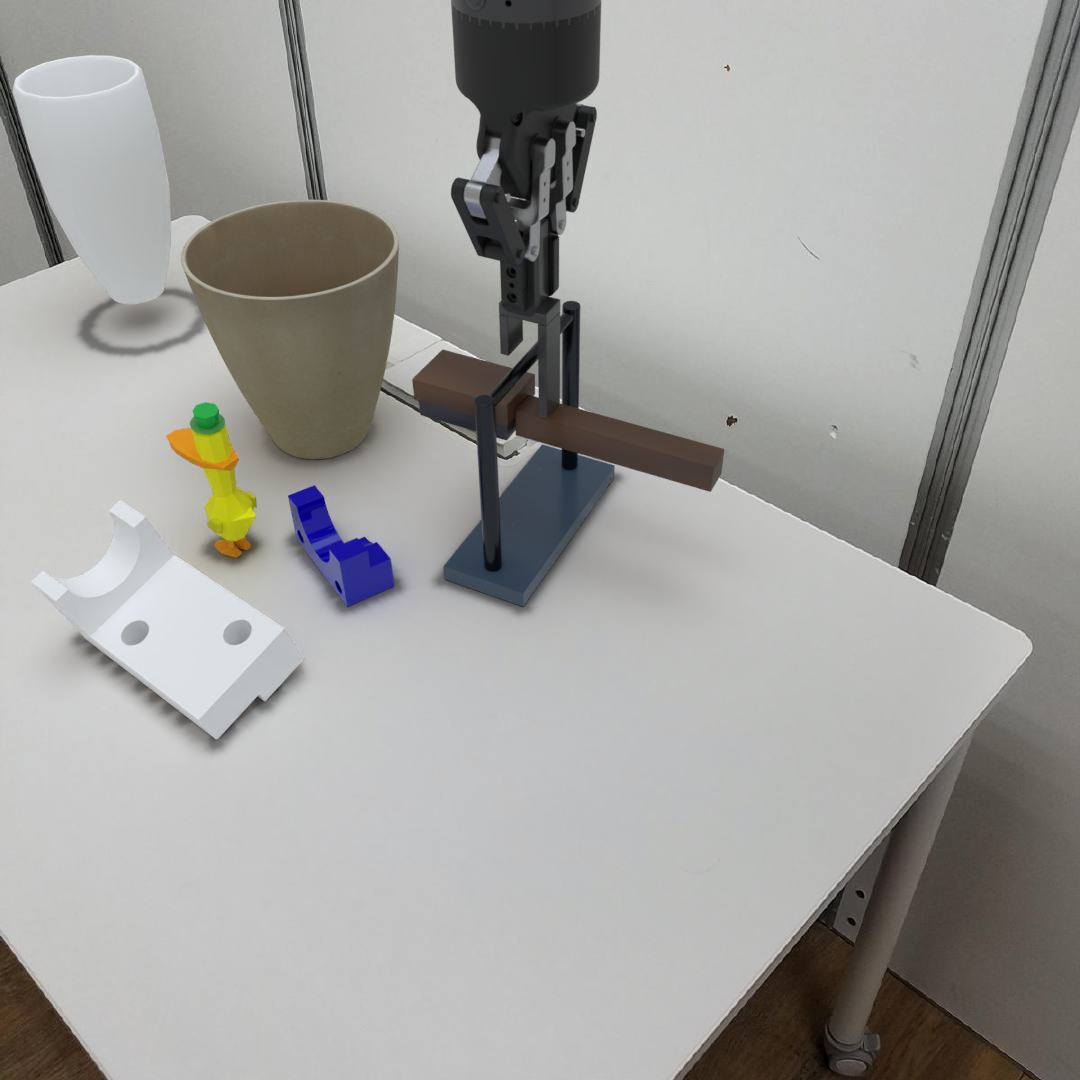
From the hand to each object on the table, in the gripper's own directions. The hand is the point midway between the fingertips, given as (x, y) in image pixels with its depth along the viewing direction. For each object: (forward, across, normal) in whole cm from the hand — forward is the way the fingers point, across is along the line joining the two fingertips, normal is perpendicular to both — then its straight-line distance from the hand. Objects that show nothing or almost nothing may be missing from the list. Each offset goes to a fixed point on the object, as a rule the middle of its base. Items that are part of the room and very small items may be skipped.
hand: (530, 299), depth 67 cm
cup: (+18, +10, +44) cm, 49 cm away
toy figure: (+18, -11, +18) cm, 28 cm away
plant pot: (+18, +3, +20) cm, 27 cm away
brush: (+10, 0, -2) cm, 10 cm away
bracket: (+18, -21, +14) cm, 31 cm away
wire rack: (+18, 0, 0) cm, 18 cm away
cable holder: (+18, -9, +10) cm, 23 cm away
